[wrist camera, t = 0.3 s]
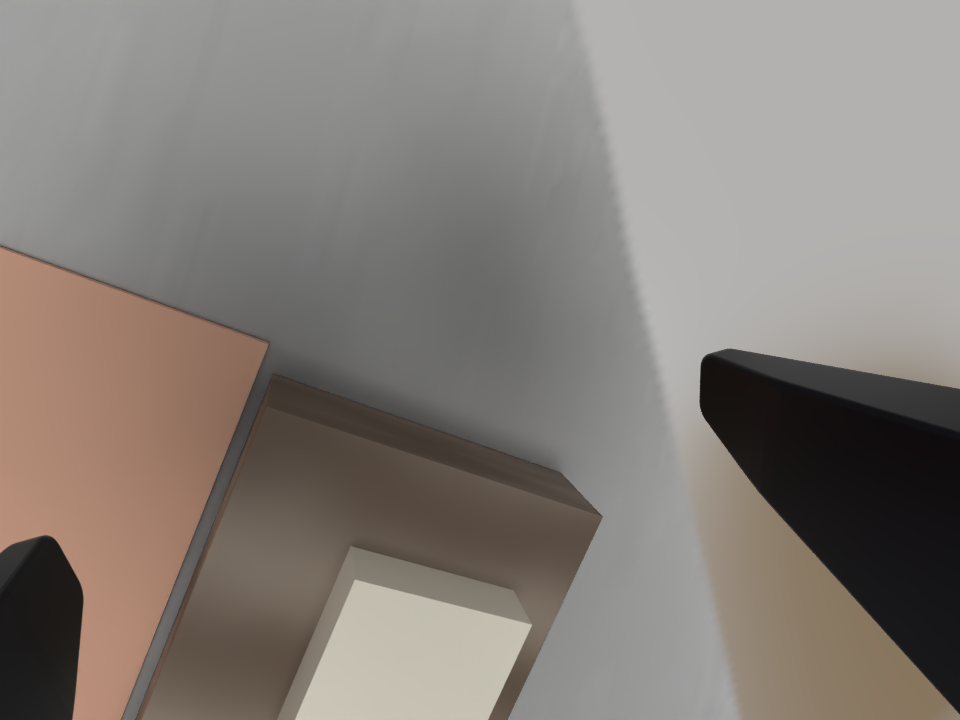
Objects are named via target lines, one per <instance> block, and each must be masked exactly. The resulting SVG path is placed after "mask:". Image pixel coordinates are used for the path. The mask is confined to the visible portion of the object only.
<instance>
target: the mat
mask: <svg viewBox="0 0 960 720" xmlns="http://www.w3.org/2000/svg"><path fill="white" fill-rule="evenodd" d="M268 345H269V342H266V341H263V340H260V339H258V338H255V337H252V336H249V335H247V334H244V333H241V332H238V331H235V330H233V329H230V328H227V327H224V326H221V325H219V324H216V323H213V322H210V321H208V320H205V319H202V318H199V317H196V316H194V315H191V314H188V313H185V312H183V311H180V310H177V309H174V308H171V307H169V306H166V305H163V304H160V303H158V302H155V301H152V300H149V299H146V298H144V297H141V296H138V295H135V294H133V293H130V292H127V291H124V290H121V289H119V288H116V287H113V286H110V285H107V284H105V283H102V282H99V281H96V280H94V279H91V278H88V277H85V276H82V275H80V274H77V273H74V272H71V271H69V270H66V269H63V268H60V267H57V266H55V265H52V264H49V263H46V262H44V261H41V260H38V259H35V258H32V257H30V256H27V255H24V254H21V253H18V252H16V251H13V250H10V249H7V248H5V247H2V246H0V553H1V552H2V551H3V550H4V549H6V548H7V547H8V546H10V545H12V544H14V543H16V542H20V541H24V540H27V539H31V538H35V537H38V536H43V535H48V536H51V537H53V538H54V539H55V540H56V541H57V542H58V544H59V545H60V547H61V549H62V551H63V552H64V554H65V556H66V558H67V560H68V561H69V563H70V565H71V567H72V569H73V570H74V572H75V574H76V576H77V578H78V579H79V581H80V584H81V586H82V590H83V597H84V604H83V615H82V627H81V638H80V650H79V661H78V672H77V684H76V695H75V704H74V712H73V719H72V720H121V718H122V715H123V713H124V710H125V708H126V705H127V703H128V700H129V697H130V695H131V692H132V690H133V687H134V685H135V682H136V680H137V677H138V675H139V672H140V670H141V667H142V665H143V662H144V659H145V657H146V654H147V652H148V649H149V647H150V644H151V642H152V639H153V637H154V634H155V632H156V629H157V626H158V624H159V621H160V619H161V616H162V614H163V611H164V609H165V606H166V604H167V601H168V599H169V596H170V594H171V591H172V588H173V586H174V583H175V581H176V578H177V576H178V573H179V571H180V568H181V566H182V563H183V561H184V558H185V555H186V553H187V550H188V548H189V545H190V543H191V540H192V538H193V535H194V533H195V530H196V528H197V525H198V523H199V520H200V517H201V515H202V512H203V510H204V507H205V505H206V502H207V500H208V497H209V495H210V492H211V490H212V487H213V484H214V482H215V479H216V477H217V474H218V472H219V469H220V467H221V464H222V462H223V459H224V457H225V454H226V452H227V449H228V446H229V444H230V441H231V439H232V436H233V434H234V431H235V429H236V426H237V424H238V421H239V419H240V416H241V413H242V411H243V408H244V406H245V403H246V401H247V398H248V396H249V393H250V391H251V388H252V386H253V383H254V381H255V378H256V375H257V373H258V370H259V368H260V365H261V363H262V360H263V358H264V355H265V353H266V350H267V348H268Z"/></svg>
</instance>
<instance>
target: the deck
mask: <svg viewBox="0 0 960 720" xmlns="http://www.w3.org/2000/svg"><path fill="white" fill-rule="evenodd" d="M602 517H603V516H602V515H601V514H600V513H599V512H598V511H597V510H596V509H595V508H594V507H593V506H592V505H591V504H590V503H589V502H588V501H587V500H586V499H585V498H584V497H583V495H582V494H581V493H580V492H579V491H578V490H577V489H576V488H575V487H574V486H573V485H572V484H571V483H570V482H569V481H568V480H567V479H566V478H565V477H564V476H563V475H562V474H561V473H559V472H556V471H553V470H551V469H548V468H545V467H542V466H539V465H536V464H533V463H530V462H527V461H525V460H522V459H519V458H516V457H513V456H510V455H507V454H504V453H501V452H498V451H496V450H493V449H490V448H487V447H484V446H481V445H478V444H475V443H472V442H469V441H467V440H464V439H461V438H458V437H455V436H452V435H449V434H446V433H443V432H440V431H438V430H435V429H432V428H429V427H426V426H423V425H420V424H417V423H414V422H411V421H409V420H406V419H403V418H400V417H397V416H394V415H391V414H388V413H385V412H383V411H380V410H377V409H374V408H371V407H368V406H365V405H362V404H359V403H356V402H354V401H351V400H348V399H345V398H342V397H339V396H336V395H333V394H330V393H327V392H325V391H322V390H319V389H316V388H313V387H310V386H307V385H304V384H301V383H298V382H296V381H293V380H290V379H287V378H284V377H281V376H278V375H275V374H273V375H272V377H271V380H270V382H269V385H268V387H267V390H266V392H265V395H264V398H263V400H262V403H261V405H260V408H259V410H258V413H257V415H256V418H255V420H254V423H253V425H252V428H251V430H250V433H249V435H248V438H247V440H246V443H245V445H244V448H243V450H242V453H241V455H240V458H239V460H238V463H237V465H236V468H235V471H234V473H233V476H232V478H231V481H230V483H229V486H228V488H227V491H226V493H225V496H224V498H223V501H222V503H221V506H220V508H219V511H218V513H217V516H216V518H215V521H214V523H213V526H212V528H211V531H210V533H209V536H208V538H207V541H206V544H205V546H204V549H203V551H202V554H201V556H200V559H199V561H198V564H197V566H196V569H195V571H194V574H193V576H192V579H191V581H190V584H189V586H188V589H187V591H186V594H185V596H184V599H183V601H182V604H181V606H180V609H179V611H178V614H177V617H176V619H175V622H174V624H173V627H172V629H171V632H170V634H169V637H168V639H167V642H166V644H165V647H164V649H163V652H162V654H161V657H160V659H159V662H158V664H157V667H156V669H155V672H154V674H153V677H152V679H151V682H150V684H149V687H148V690H147V692H146V695H145V697H144V700H143V702H142V705H141V707H140V710H139V712H138V715H137V717H136V720H277V718H278V716H279V713H280V711H281V709H282V706H283V704H284V702H285V699H286V697H287V695H288V692H289V690H290V687H291V685H292V683H293V680H294V678H295V676H296V673H297V671H298V669H299V666H300V664H301V662H302V659H303V657H304V655H305V652H306V650H307V647H308V645H309V643H310V640H311V638H312V636H313V633H314V631H315V629H316V626H317V624H318V622H319V619H320V617H321V615H322V612H323V610H324V607H325V605H326V603H327V600H328V598H329V596H330V593H331V591H332V589H333V586H334V584H335V582H336V579H337V577H338V574H339V572H340V570H341V567H342V565H343V563H344V560H345V558H346V556H347V553H348V551H349V549H350V546H352V547H356V548H360V549H363V550H367V551H371V552H374V553H378V554H382V555H385V556H389V557H393V558H397V559H400V560H404V561H408V562H411V563H415V564H419V565H422V566H426V567H430V568H433V569H437V570H441V571H444V572H448V573H452V574H456V575H459V576H463V577H467V578H470V579H474V580H478V581H481V582H485V583H489V584H492V585H496V586H500V587H503V588H507V589H511V590H514V592H515V594H516V596H517V597H518V599H519V601H520V603H521V605H522V607H523V609H524V610H525V612H526V614H527V616H528V618H529V620H530V622H531V623H532V626H531V629H530V631H529V633H528V635H527V637H526V639H525V641H524V644H523V646H522V648H521V650H520V652H519V654H518V656H517V659H516V661H515V663H514V665H513V667H512V669H511V672H510V674H509V676H508V678H507V680H506V682H505V684H504V687H503V689H502V691H501V693H500V695H499V697H498V699H497V702H496V704H495V706H494V708H493V710H492V712H491V714H490V717H489V719H488V720H508V718H509V715H510V713H511V711H512V709H513V707H514V705H515V703H516V701H517V698H518V696H519V694H520V692H521V690H522V688H523V686H524V683H525V681H526V679H527V677H528V675H529V673H530V671H531V669H532V666H533V664H534V662H535V660H536V658H537V656H538V654H539V652H540V649H541V647H542V645H543V643H544V641H545V639H546V637H547V634H548V632H549V630H550V628H551V626H552V624H553V622H554V620H555V617H556V615H557V613H558V611H559V609H560V607H561V605H562V603H563V600H564V598H565V596H566V594H567V592H568V590H569V588H570V586H571V583H572V581H573V579H574V577H575V575H576V573H577V571H578V568H579V566H580V564H581V562H582V560H583V558H584V556H585V554H586V551H587V549H588V547H589V545H590V543H591V541H592V539H593V537H594V534H595V532H596V530H597V528H598V526H599V524H600V522H601V519H602Z"/></svg>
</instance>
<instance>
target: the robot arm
mask: <svg viewBox="0 0 960 720" xmlns="http://www.w3.org/2000/svg"><path fill="white" fill-rule="evenodd" d="M700 408H701V412H702V414H703V416H704V418H705V420H706V421H707V422H708V424H709V425H710V427H711V428H712V429H713V431H714V432H715V433H716V435H717V436H718V438H719V439H720V440H721V442H722V443H723V444H724V446H725V447H726V448H727V450H728V451H729V453H730V454H731V455H732V457H733V458H734V459H735V461H736V462H737V463H738V465H739V466H740V468H741V469H742V470H743V472H744V473H745V475H746V476H747V477H748V479H749V480H750V481H751V483H752V484H753V485H754V486H755V487H756V489H757V490H758V492H759V493H760V494H761V495H762V496H763V497H764V499H765V500H766V501H767V502H768V503H769V504H770V506H771V507H772V508H773V509H774V510H775V511H776V512H777V513H778V514H779V516H780V517H781V518H782V519H783V520H784V521H785V522H786V523H787V524H788V525H789V527H790V528H791V529H792V530H793V531H794V532H795V533H796V534H797V535H798V536H799V537H800V539H801V540H802V541H803V542H804V543H805V544H806V545H807V546H808V548H810V550H811V551H812V552H813V553H814V554H815V555H816V556H817V557H818V558H819V560H820V561H821V562H822V563H823V564H824V565H825V566H826V567H827V568H828V570H829V571H830V572H831V573H832V574H833V575H834V576H835V577H836V578H837V580H838V581H839V582H840V583H841V584H842V585H843V586H844V587H845V588H846V589H847V591H848V592H849V593H850V594H851V595H852V596H853V597H854V598H855V599H856V601H857V602H858V603H859V604H860V605H861V606H862V607H863V608H864V609H865V610H866V611H867V613H868V614H869V615H870V616H871V617H872V618H873V619H874V620H875V621H876V622H877V624H878V625H879V626H880V627H881V628H882V629H883V630H884V631H885V633H887V635H888V636H889V637H890V638H891V639H892V640H893V641H894V642H895V644H896V645H897V646H898V647H899V648H900V649H901V650H902V651H903V652H904V653H905V655H906V656H907V657H908V658H909V659H910V660H911V661H912V662H913V663H914V665H916V667H917V668H918V669H919V670H920V671H921V672H922V673H923V674H924V675H925V677H926V678H927V679H928V680H929V681H930V682H931V683H932V684H933V685H934V686H935V688H936V689H937V690H938V691H939V692H940V693H941V694H942V695H943V697H944V698H946V700H947V701H948V702H949V703H950V704H951V705H952V706H953V707H954V709H955V710H956V711H957V712H958V713H959V714H960V389H957V388H951V387H946V386H940V385H934V384H929V383H923V382H917V381H912V380H906V379H900V378H895V377H889V376H883V375H878V374H872V373H866V372H861V371H855V370H849V369H844V368H838V367H832V366H826V365H821V364H815V363H810V362H804V361H798V360H793V359H786V358H781V357H776V356H770V355H764V354H759V353H753V352H747V351H742V350H736V349H725V350H721V351H718V352H714V353H710V354H707V355H706V356H705V357H704V358H703V359H702V362H701V374H700ZM83 604H84V597H83V590H82V586H81V584H80V581H79V579H78V578H77V576H76V574H75V572H74V570H73V569H72V567H71V565H70V563H69V561H68V560H67V558H66V556H65V554H64V552H63V551H62V549H61V547H60V545H59V544H58V542H57V541H56V540H55V539H54V538H53V537H51V536H48V535H43V536H38V537H35V538H31V539H27V540H24V541H20V542H16V543H14V544H12V545H10V546H8V547H7V548H6V549H4V550H3V551H2V552H1V553H0V720H72V719H73V712H74V704H75V695H76V684H77V672H78V661H79V650H80V638H81V627H82V615H83Z"/></svg>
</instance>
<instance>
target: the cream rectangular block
mask: <svg viewBox="0 0 960 720" xmlns="http://www.w3.org/2000/svg"><path fill="white" fill-rule="evenodd" d="M531 626H532V623H531V622H530V620H529V618H528V616H527V614H526V612H525V610H524V609H523V607H522V605H521V603H520V601H519V599H518V597H517V596H516V594H515V592H514V590H511V589H507V588H503V587H500V586H496V585H492V584H489V583H485V582H481V581H478V580H474V579H470V578H467V577H463V576H459V575H456V574H452V573H448V572H444V571H441V570H437V569H433V568H430V567H426V566H422V565H419V564H415V563H411V562H408V561H404V560H400V559H397V558H393V557H389V556H385V555H382V554H378V553H374V552H371V551H367V550H363V549H360V548H356V547H352V546H350V549H349V551H348V553H347V556H346V558H345V560H344V563H343V565H342V567H341V570H340V572H339V574H338V577H337V579H336V582H335V584H334V586H333V589H332V591H331V593H330V596H329V598H328V600H327V603H326V605H325V607H324V610H323V612H322V615H321V617H320V619H319V622H318V624H317V626H316V629H315V631H314V633H313V636H312V638H311V640H310V643H309V645H308V647H307V650H306V652H305V655H304V657H303V659H302V662H301V664H300V666H299V669H298V671H297V673H296V676H295V678H294V680H293V683H292V685H291V687H290V690H289V692H288V695H287V697H286V699H285V702H284V704H283V706H282V709H281V711H280V713H279V716H278V718H277V720H488V719H489V717H490V714H491V712H492V710H493V708H494V706H495V704H496V702H497V699H498V697H499V695H500V693H501V691H502V689H503V687H504V684H505V682H506V680H507V678H508V676H509V674H510V672H511V669H512V667H513V665H514V663H515V661H516V659H517V656H518V654H519V652H520V650H521V648H522V646H523V644H524V641H525V639H526V637H527V635H528V633H529V631H530V629H531Z"/></svg>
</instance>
